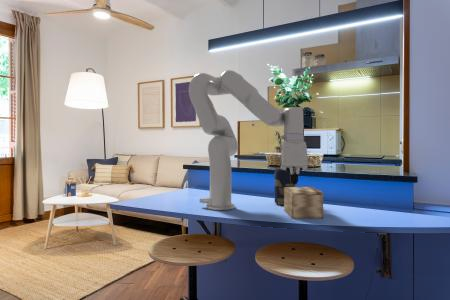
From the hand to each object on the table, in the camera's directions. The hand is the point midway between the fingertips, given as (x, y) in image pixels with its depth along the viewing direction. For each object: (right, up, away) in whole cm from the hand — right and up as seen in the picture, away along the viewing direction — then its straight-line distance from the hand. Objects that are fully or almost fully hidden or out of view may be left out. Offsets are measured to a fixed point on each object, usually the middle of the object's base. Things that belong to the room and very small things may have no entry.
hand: (294, 183), depth 130 cm
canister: (0, -12, +21) cm, 24 cm away
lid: (+4, -3, 0) cm, 5 cm away
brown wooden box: (+4, -12, +1) cm, 13 cm away
